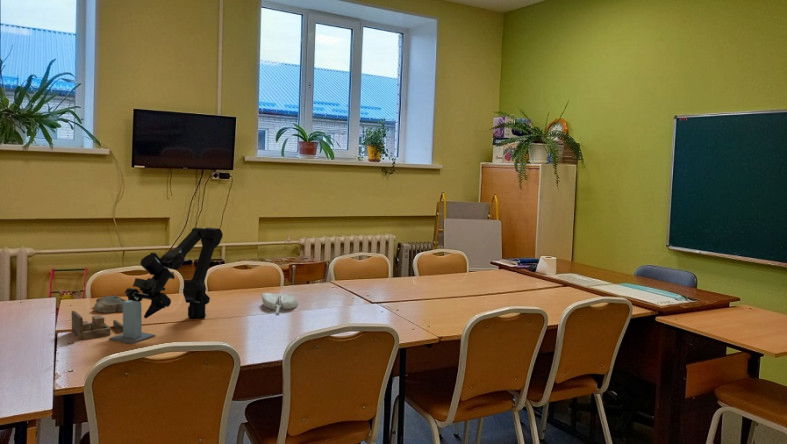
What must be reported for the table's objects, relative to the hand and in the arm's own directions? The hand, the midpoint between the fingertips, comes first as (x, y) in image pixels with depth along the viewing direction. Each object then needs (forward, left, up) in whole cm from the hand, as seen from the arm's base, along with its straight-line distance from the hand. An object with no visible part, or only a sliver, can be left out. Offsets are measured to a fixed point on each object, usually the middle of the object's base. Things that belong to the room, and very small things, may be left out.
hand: (135, 316), depth 216 cm
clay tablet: (+18, -47, -8) cm, 51 cm away
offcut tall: (+15, -8, -8) cm, 18 cm away
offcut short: (+19, -5, -8) cm, 21 cm away
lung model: (-54, -39, -9) cm, 67 cm away
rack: (+15, -8, -8) cm, 18 cm away
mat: (+1, +1, -8) cm, 8 cm away
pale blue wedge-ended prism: (+1, +1, -7) cm, 7 cm away
